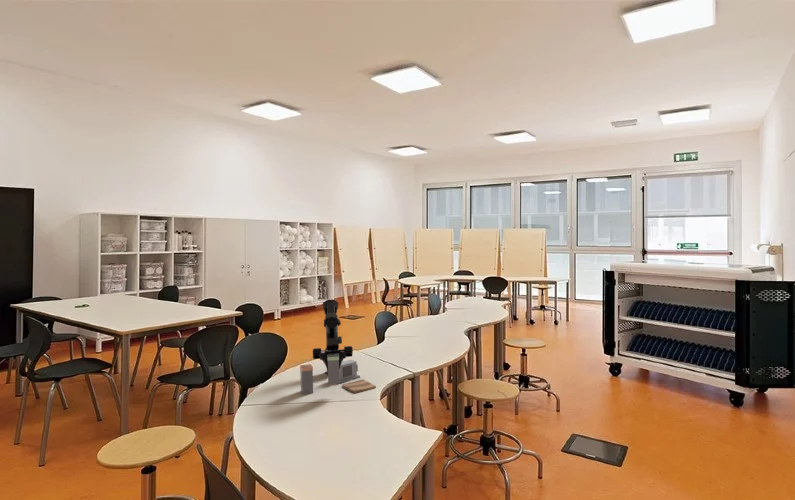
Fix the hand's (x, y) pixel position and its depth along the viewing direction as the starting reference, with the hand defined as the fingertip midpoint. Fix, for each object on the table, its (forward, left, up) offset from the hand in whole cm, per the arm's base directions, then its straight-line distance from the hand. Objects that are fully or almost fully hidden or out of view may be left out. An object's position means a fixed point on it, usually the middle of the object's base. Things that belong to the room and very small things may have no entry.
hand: (333, 368), depth 204 cm
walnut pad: (-2, +16, -13) cm, 21 cm away
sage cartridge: (-1, +1, -7) cm, 7 cm away
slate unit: (-17, +18, -13) cm, 28 cm away
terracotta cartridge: (-15, -5, -13) cm, 21 cm away
